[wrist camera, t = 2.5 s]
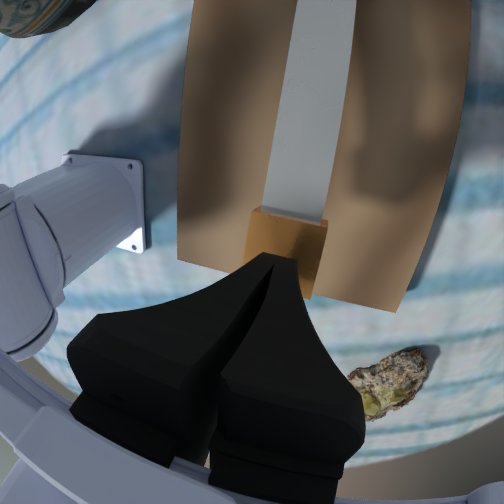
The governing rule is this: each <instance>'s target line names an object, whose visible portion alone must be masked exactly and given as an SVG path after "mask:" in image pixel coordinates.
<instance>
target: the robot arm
mask: <svg viewBox="0 0 504 504" xmlns="http://www.w3.org/2000/svg"><path fill="white" fill-rule="evenodd" d="M130 164H132V166H133V168H131V166H130ZM134 245H135V246H136V247H135V246H134ZM114 247H119V248H122V249H125V250H129V251H132V252H136V253H139V254H142V253H144V252H145V250H146V243H145V225H144V201H143V164H142V162H141V161H139V160H133V159H123V158H113V157H102V156H90V155H76V154H64V155H62V157H61V166H60V167H57V168H55V169H52V170H50V171H47V172H45V173H42V174H40V175H38V176H35V177H33V178H31V179H28V180H26V181H24V182H22V183H19V184H17V185H16V186H14V187H13V188H11V187H10V188H9V187H8V186H6V185H5V184H0V435H1V436H2V437H3V438H4V439H5V440H6V441H7V442H8V443H9V444H10V445H11V446H12V447H13V449H14V452H15V453H16V454H17V455H18V456H19V457H20V458H19V459H18V461H17V462H16V464H15V465H14V466H13V468H12V469H11V471H10V472H9V473H8V475H7V476H6V478H5V479H4V481H3V482H2V484H1V485H0V504H504V481H501V482H496V483H491V484H487V485H485V486H482V487H480V488H478V489H476V490H474V491H473V492H471V493H470V494H469V495H465V496H458V497H449V498H439V499H425V500H365V499H351V498H340V497H335V496H336V490H337V485H338V480H339V479H341V478H342V475H343V470H344V463H345V462H347V461H348V460H349V459H350V458H351V457H352V456H353V455H354V454H355V453H356V452H357V451H358V450H359V449H360V448H361V446H362V445H363V443H364V439H365V431H366V425H365V413H364V406H363V400H362V395H361V394H360V393H359V392H358V391H357V389H356V388H355V387H354V386H353V385H352V384H351V383H350V382H349V381H348V379H347V378H346V377H345V376H344V375H343V374H342V373H341V371H340V370H339V369H338V367H337V366H336V365H335V363H334V362H333V360H332V359H331V357H330V355H329V354H328V352H327V351H326V349H325V347H324V346H323V344H322V342H321V341H320V339H319V337H318V335H317V333H316V331H315V329H314V326H313V324H312V322H311V320H310V317H309V315H308V312H307V309H306V306H305V303H304V300H303V296H302V292H301V288H300V284H299V277H298V262H297V260H295V259H291V258H287V257H283V256H278V255H274V254H270V253H266V252H262V253H260V254H258V255H257V256H256V257H254V258H253V259H252V260H250V261H249V262H247V263H246V264H245V265H243V266H242V267H240V268H239V269H237V270H236V271H234V272H233V273H231V274H229V275H228V276H226V277H224V278H223V279H221V280H219V281H217V282H216V283H214V284H212V285H210V286H208V287H206V288H204V289H202V290H199V291H197V292H194V293H192V294H190V295H187V296H184V297H181V298H178V299H175V300H172V301H169V302H166V303H162V304H158V305H154V306H150V307H145V308H140V309H135V310H129V311H121V312H113V313H104V314H97V315H96V316H95V317H94V318H93V319H92V320H91V321H90V322H89V323H88V324H87V325H86V326H85V327H84V328H83V329H82V330H81V331H80V332H79V333H78V335H77V336H76V337H75V338H74V339H73V340H72V341H71V342H70V343H69V345H68V346H67V358H68V361H69V364H70V366H71V368H72V371H73V373H74V375H75V377H76V379H77V381H78V383H79V384H80V386H81V388H82V390H83V391H82V393H81V394H80V395H79V397H78V398H77V399H76V400H75V402H74V403H72V402H70V401H69V400H67V399H66V398H64V397H63V396H61V395H60V394H58V393H57V392H56V391H54V390H53V389H51V388H50V387H48V386H47V385H46V384H44V383H43V382H41V381H40V380H39V379H38V378H36V377H35V376H33V375H32V374H31V373H30V372H28V371H27V370H26V369H25V368H23V367H22V366H21V365H20V364H18V363H17V362H19V361H22V360H25V359H27V358H29V357H31V356H33V355H34V354H36V353H37V352H38V351H40V350H41V349H42V348H43V347H44V346H45V345H46V344H47V342H48V341H49V339H50V338H51V336H52V334H53V333H54V331H55V329H56V326H57V323H58V313H57V310H56V309H55V308H57V307H58V306H59V305H60V304H61V303H62V302H63V301H64V300H65V296H64V293H63V288H65V287H66V286H67V285H68V284H69V283H71V282H72V281H73V280H74V279H75V278H77V277H78V276H79V275H80V274H81V273H83V272H84V271H85V270H86V269H88V268H89V267H90V266H91V265H93V264H94V263H95V262H96V261H98V260H99V259H100V258H101V257H103V256H104V255H105V254H107V253H108V252H109V251H110V250H112V249H113V248H114ZM209 451H210V469H208V468H206V467H204V465H205V462H206V459H207V457H208V454H209Z"/></svg>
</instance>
